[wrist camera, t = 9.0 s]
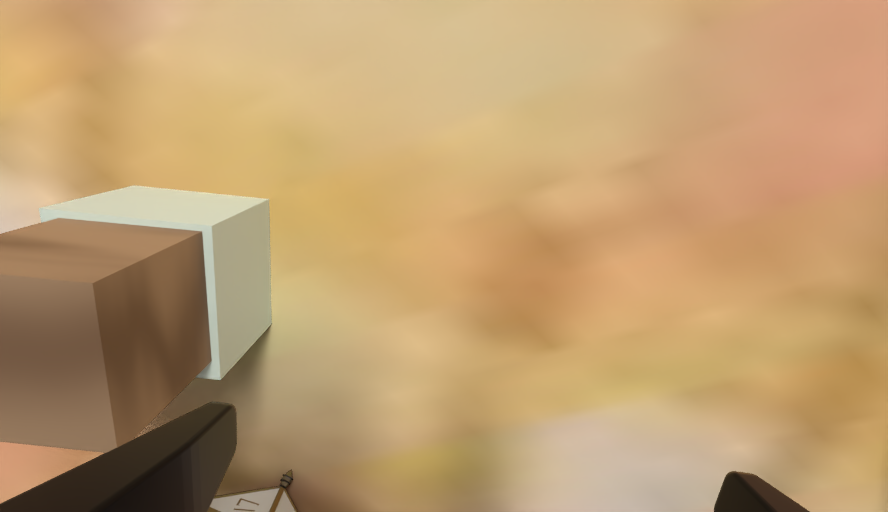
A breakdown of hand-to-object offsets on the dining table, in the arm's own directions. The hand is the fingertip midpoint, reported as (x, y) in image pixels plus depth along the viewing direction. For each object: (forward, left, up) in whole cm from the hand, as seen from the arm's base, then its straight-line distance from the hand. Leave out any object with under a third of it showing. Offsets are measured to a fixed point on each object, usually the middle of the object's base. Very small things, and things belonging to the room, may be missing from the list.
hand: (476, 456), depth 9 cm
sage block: (+12, +2, -13) cm, 18 cm away
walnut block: (+12, +2, -8) cm, 14 cm away
